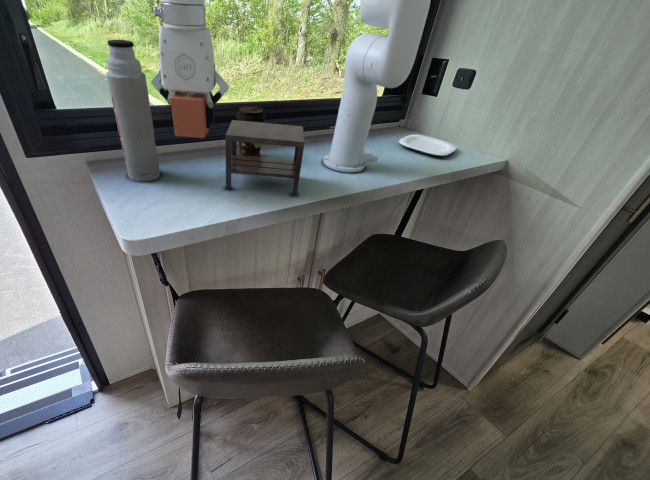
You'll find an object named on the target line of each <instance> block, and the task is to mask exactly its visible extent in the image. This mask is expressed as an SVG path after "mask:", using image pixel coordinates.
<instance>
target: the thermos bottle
mask: <svg viewBox="0 0 650 480" xmlns="http://www.w3.org/2000/svg"><path fill="white" fill-rule="evenodd" d="M107 46H108V47H109V48H108V52H109V58H107V59H106V63H107V64H106V67H107V69H108V71H107V72H106V73H105V76H106V81H107V84H108V85H107V86H108V90H109V93H110V98H111V103H112V107H113V112H114V116H115V120H116V125H117V130H118V135H119V140H120V144H121V149H122V153H123V157H124V162H125V166H126V171H127V175H128V176H127V177H128V178H129V180H131V181H136V182H151V181H155V180H156V179H158V178H159V177H160V176H161V169H160V163H159V156H158V150H157V145H156V140H155V129H154V123H153V116H152V110H151V103H150V97H149V89H148V82H147V76H146V74H145V73H144V72H143V71H142V64H141V61H140V60H139V59H137V58H136V55H135V50H134V42H133V41H131V40H127V39H109V40H107Z"/></svg>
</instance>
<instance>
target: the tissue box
mask: <svg viewBox="0 0 650 480" xmlns="http://www.w3.org/2000/svg"><path fill="white" fill-rule="evenodd" d="M170 100H171V108H172V116H173V120H172V123H173V129H174V130H173V132H174V136H175V137H185V138H196V139H197V138H198V139H205V138H206V136H207V134H208V132H209V131H210V129H208V128H207V126H206V107H207V103H206V100H205V97H204V96H203V93H189V92H176V94H174V95H173V96H172V97H171V98H170Z"/></svg>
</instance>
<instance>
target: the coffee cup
mask: <svg viewBox="0 0 650 480" xmlns="http://www.w3.org/2000/svg"><path fill="white" fill-rule="evenodd" d="M235 118H236V120H238V121H249V122H259V123H264V122H265V121H266V120H267V115H266V112H265V111H264V109H263V108H262V107H259V106H252V105H245V106H241V107H239V109H238V112H237V113H236V115H235ZM261 148H262V144H259V143H248V142H238V155H245V156H256V157H261V156H260V155H261Z"/></svg>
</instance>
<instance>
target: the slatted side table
mask: <svg viewBox="0 0 650 480" xmlns="http://www.w3.org/2000/svg"><path fill="white" fill-rule="evenodd" d="M305 141H306V140H305V132H304V126H302V125H290V124H280V123H269V122H263V123H259V122H249V121H238V119H232V120H231V122H230V124H229V126H228V129H227V131H226V133H225V190H231V189H232V174H238V175H249V176H259V177H271V178H281V179H292V180H293V183H292V189H291V196H292V197H293V196H294V197H297V196H298V189H299V182H300V177H301V176H300V175H301V170H302V162H303V156H304V150H305V144H306V143H305ZM239 142H248V143H259V144H261V145H271V146H280V147H281V146H282V147H293V148H294V154H293V159H288V158H276V157H267V156H259V157H256V156H245V155H239V154H237V150H238V149H237V145H238V144H237V143H239Z"/></svg>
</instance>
